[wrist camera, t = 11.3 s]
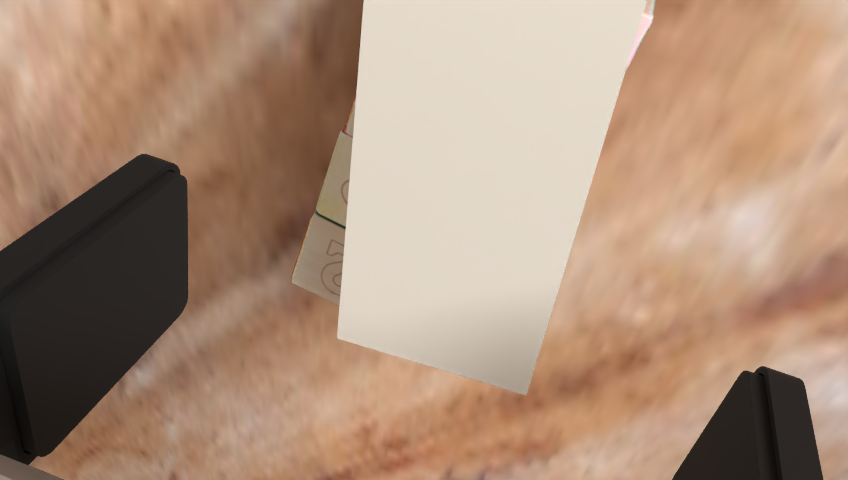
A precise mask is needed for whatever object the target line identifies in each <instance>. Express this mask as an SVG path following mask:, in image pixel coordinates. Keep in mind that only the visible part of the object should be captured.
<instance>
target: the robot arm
mask: <svg viewBox="0 0 848 480" xmlns="http://www.w3.org/2000/svg"><path fill="white" fill-rule="evenodd" d="M187 299H188V208H187V180H186V178H185V177H184V176H182V175H180V170H179V168H178V166H177V165H175V164H174V163H171V162H168V161H165V160H162V159H159V158H156V157H153V156H150V155H147V154H141V155H139V156H137V157H135V158H134V159H133V160H131V161H130V162H128V163H127V164H125V165H124V166H122V167H121V168H120V169H118V170H117V171H115V172H114V173H112V174H111V175H109V176H108V177H107V178H105V179H104V180H102V181H101V182H99V183H98V184H96V185H95V186H94V187H92V188H91V189H89V190H88V191H86V192H85V193H83V194H82V195H81V196H79V197H78V198H76V199H75V200H73V201H72V202H70V203H69V204H68V205H66V206H65V207H63V208H62V209H60V210H59V211H57V212H56V213H55V214H53V215H52V216H50V217H49V218H47V219H46V220H44V221H43V222H42V223H40V224H39V225H37V226H36V227H34V228H33V229H31V230H30V231H29V232H27V233H26V234H24V235H23V236H21V237H20V238H19V239H17V240H16V241H14V242H13V243H11V244H10V245H8V246H7V247H6V248H4V249H3V250H1V251H0V480H63V479H61V478H58V477H56V476H54V475H51V474H49V473H46V472H44V471H41V470H39V469H36V468H34V467H31V466H28V465H29V464H30V463H31V462H32V461H33V460H34V459H35V458H36V457H37V456H40V457H44V456H46V455H48V454H50V453H51V452H52V451H53V450H54V449H55V448H56V447H57V446H58V445H59V444H60V443H61V442H62V441H63V440H64V438H65V437H66V436H67V435H68V434H69V433H70V432H71V431H72V430H73V429H74V428H75V427H76V426H77V425H78V424H79V422H80V421H81V420H82V419H83V418H84V417H85V416H86V415H87V414H88V413H89V412H90V411H91V410H92V409H93V408H94V406H95V405H96V404H97V403H98V402H99V401H100V400H101V399H102V398H103V397H104V396H105V395H106V394H107V393H108V392H109V390H110V389H111V388H112V387H113V386H114V385H115V384H116V383H117V382H118V381H119V380H120V379H121V378H122V377H123V376H124V374H125V373H126V372H127V371H128V370H129V369H130V368H131V367H132V366H133V365H134V364H135V363H136V362H137V361H138V360H139V358H140V357H141V356H142V355H143V354H144V353H145V352H146V351H147V350H148V349H149V348H150V347H151V346H152V345H153V344H154V343H155V341H156V340H157V339H158V338H159V337H160V336H161V335H162V334H163V333H164V332H165V331H166V330H167V329H168V328H169V327H170V325H171V324H172V323H173V322H174V321H175V320H176V319H177V318H178V317H179V316H180V314H181V313H182V312H183V310H184V308H185V306H186V303H187ZM672 480H823V476H822V471H821V466H820V460H819V455H818V450H817V445H816V440H815V435H814V430H813V425H812V420H811V415H810V409H809V404H808V399H807V394H806V389H805V385H804V382H803V381H802V380H801V379H799V378H796V377H794V376H791V375H788V374H785V373H782V372H779V371H776V370H773V369H770V368H767V367H764V366H762V367H759V368H758V369H757V370H756V371H755V372H754V373H752V372H749V371H743V372H742V373H741V374H740V375H739V377H738V378H737V380H736V381H735V383H734V384H733V386H732V388H731V389H730V391H729V392H728V394H727V395H726V397H725V398H724V400H723V401H722V403H721V404H720V406H719V408H718V409H717V411H716V412H715V414H714V415H713V417H712V418H711V420H710V421H709V423H708V424H707V426H706V427H705V429H704V431H703V432H702V434H701V435H700V437H699V438H698V440H697V441H696V443H695V444H694V446H693V447H692V449H691V451H690V452H689V454H688V455H687V457H686V458H685V460H684V461H683V463H682V464H681V466H680V467H679V469H678V471H677V472H676V474H675V475H674V477H673V479H672Z"/></svg>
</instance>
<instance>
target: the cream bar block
mask: <svg viewBox="0 0 848 480" xmlns="http://www.w3.org/2000/svg"><path fill="white" fill-rule="evenodd" d="M646 2H647V0H364V3H363V16H362V29H361V41H360V54H359V67H358V79H357V92H356V104H355V117H354V130H353V142H352V155H351V168H350V180H349V193H348V206H347V218H346V231H345V244H344V256H343V269H342V281H341V294H340V307H339V319H338V332H337V339H341V340H344V341H347V342H351V343H354V344H357V345H361V346H364V347H367V348H371V349H374V350H377V351H380V352H384V353H387V354H390V355H394V356H397V357H400V358H404V359H407V360H410V361H414V362H417V363H420V364H423V365H427V366H430V367H433V368H437V369H440V370H443V371H447V372H450V373H453V374H456V375H460V376H463V377H466V378H470V379H473V380H476V381H480V382H483V383H486V384H490V385H493V386H496V387H499V388H503V389H506V390H509V391H513V392H516V393H519V394H523V395H526V394H527V391H528V388H529V385H530V381H531V378H532V375H533V372H534V368H535V365H536V362H537V359H538V355H539V352H540V349H541V345H542V342H543V339H544V336H545V332H546V329H547V326H548V323H549V319H550V316H551V313H552V309H553V306H554V303H555V300H556V296H557V293H558V290H559V287H560V283H561V280H562V277H563V274H564V270H565V267H566V264H567V260H568V257H569V254H570V251H571V247H572V244H573V241H574V238H575V234H576V231H577V228H578V225H579V221H580V218H581V215H582V211H583V208H584V205H585V202H586V198H587V195H588V192H589V189H590V185H591V182H592V179H593V176H594V172H595V169H596V166H597V162H598V159H599V156H600V153H601V149H602V146H603V143H604V140H605V136H606V133H607V130H608V127H609V123H610V120H611V117H612V113H613V110H614V107H615V104H616V100H617V97H618V94H619V91H620V87H621V84H622V81H623V77H624V74H625V71H626V68H627V64H628V61H629V58H630V55H631V51H632V48H633V45H634V42H635V38H636V35H637V32H638V28H639V25H640V22H641V19H642V15H643V12H644V9H645V6H646Z"/></svg>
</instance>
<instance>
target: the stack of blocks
mask: <svg viewBox="0 0 848 480" xmlns="http://www.w3.org/2000/svg"><path fill="white" fill-rule="evenodd" d="M654 7H655V0H647V2H646V6H645V9H644V12H643V15H642V19H641V22H640V25H639V28H638V32H637V35H636V38H635V42H634V45H633V48H632V51H631V55H630V58H629V61H628V64H627V68H628V67H629V65H630V63H631V61H632V59H633V57H634V55H635V54H636V52H637V50H638V48H639V46H640V44H641V42H642V40H643V39H644V37H645V35H646V33H647V31H648V30H649V28H650V26H651V25H652V22H653V18H654ZM627 68H626V70H627ZM625 72H626V71H625ZM355 104H356V96H355V99H354V102H353V105H352V108H351V111H350V114H349V118H348V121H347V124H346V125H345V126H344V127H343V129H342V130H341V132H340V134H339V136H338V139H337V142H336V145H335V148H334V151H333V155H332V158H331V161H330V164H329V168H328V171H327V174H326V177H325V180H324V183H323V186H322V189H321V192H320V195H319V199H318V202H317V205H316V211H315V212H314V214H313V216H312V217H311V219H310V222H309V225H308V228H307V231H306V234H305V237H304V240H303V243H302V246H301V249H300V252H299V255H298V258H297V261H296V264H295V267H294V270H293V273H292V278H291V281H292V282H293V283H294V284H295V285H297V286H299V287H301V288H303V289H306V290H308V291H310V292H312V293H314V294H316V295H318V296H320V297H322V298H324V299H326V300H328V301H330V302H332V303H334V304H336V305H338V306H340V294H341V281H342V269H343V256H344V244H345V231H346V218H347V206H348V193H349V180H350V168H351V155H352V142H353V130H354V117H355Z"/></svg>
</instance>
